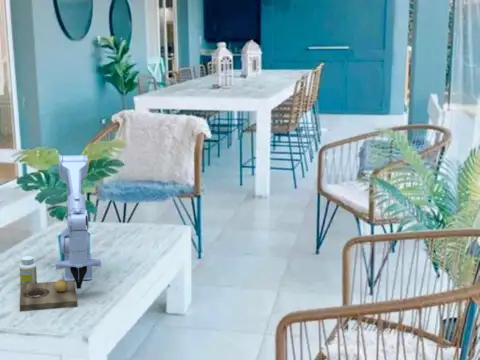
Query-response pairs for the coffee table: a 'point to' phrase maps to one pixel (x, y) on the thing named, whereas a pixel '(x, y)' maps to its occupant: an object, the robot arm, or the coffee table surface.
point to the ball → (61, 285)
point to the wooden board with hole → (46, 296)
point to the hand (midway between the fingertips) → (78, 287)
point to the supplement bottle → (28, 270)
